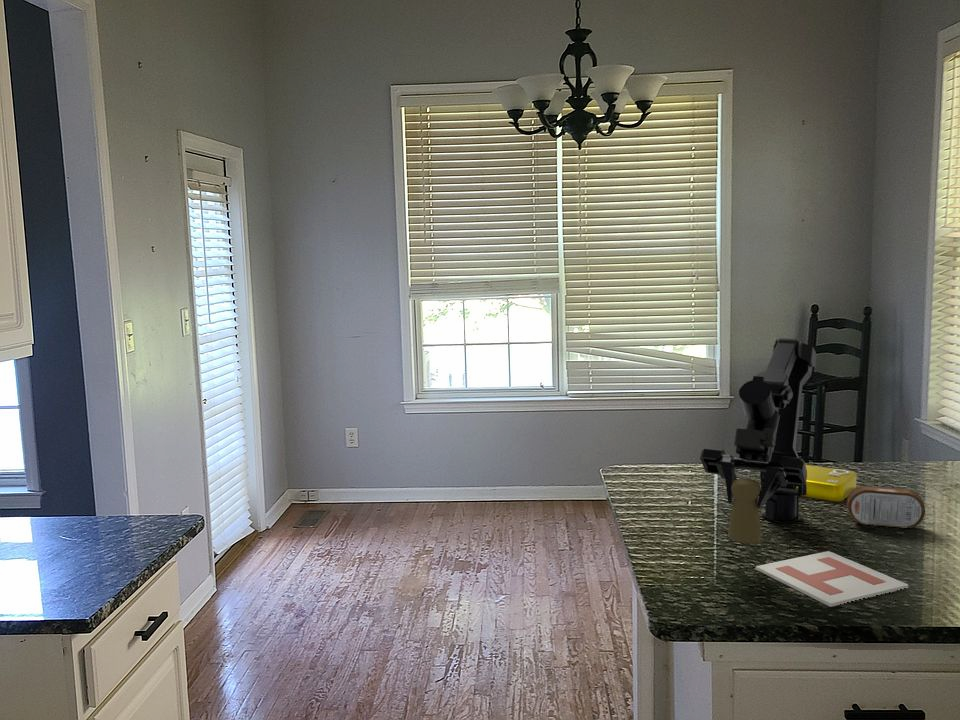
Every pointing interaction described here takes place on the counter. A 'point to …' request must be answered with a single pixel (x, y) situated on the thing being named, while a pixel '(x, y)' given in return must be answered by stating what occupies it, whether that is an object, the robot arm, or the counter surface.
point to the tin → (885, 506)
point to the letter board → (831, 578)
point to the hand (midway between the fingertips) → (743, 505)
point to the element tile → (829, 483)
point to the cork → (745, 512)
